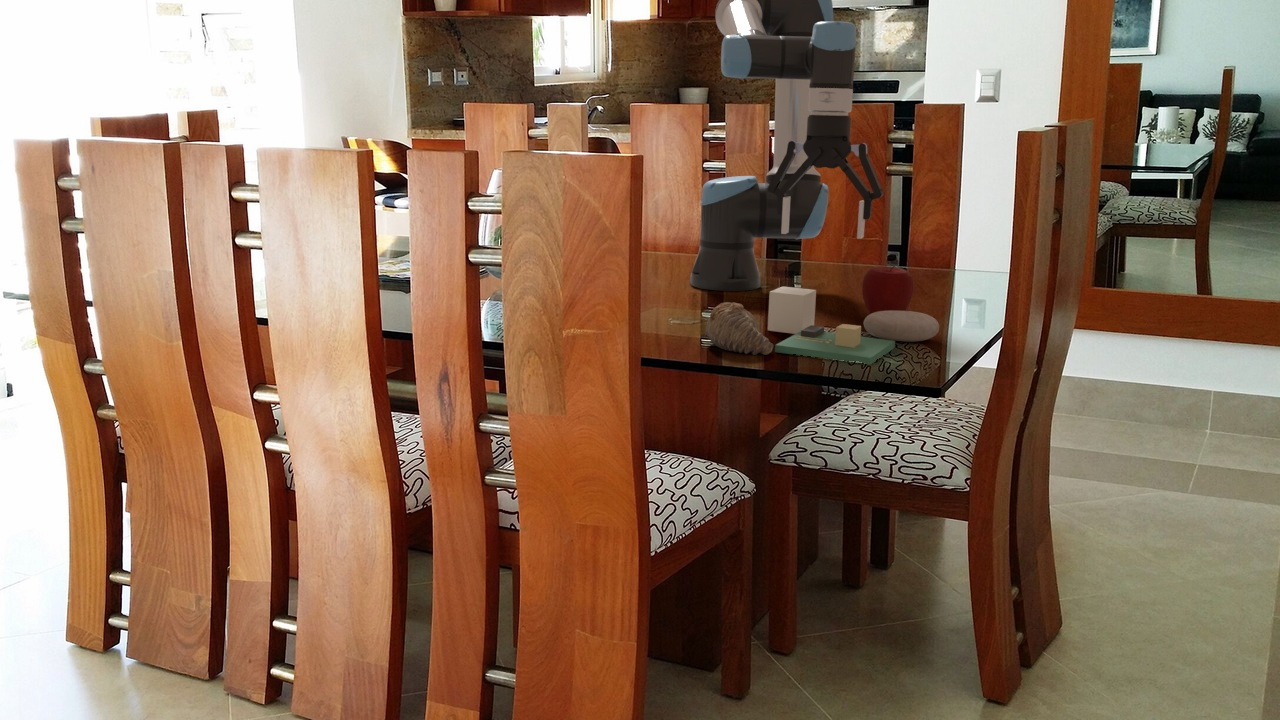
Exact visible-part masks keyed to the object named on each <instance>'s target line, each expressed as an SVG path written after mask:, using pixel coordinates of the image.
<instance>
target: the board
mask: <svg viewBox="0 0 1280 720" xmlns="http://www.w3.org/2000/svg"><path fill="white" fill-rule="evenodd" d="M861 333H862V326H861V325H856V324H849V323H848V324H847V323H846V324H845V323H842V324H839V325H837V326H836V330H835V332H827V331H825V326H821V325H814V326H813V325H811V326H809V327H807V328H805V329H803V330H801V332H799V333H797V334H792V335H791V336H789V337H787V338H786V339H784V340H781V341H780V342H778V343H776V344H774V346H775V347H774V353H778V354H779V353H780V354H786V355H787V354H788V355H793V354H796V355H795V356H800V355H803V356H802V357H807V356H811V357H810V358H815V357H821V358H820V359H822V358H828V359H827V360H829V359H837V360H844V361H859V362H862V363H865V364H868V365H867V366H871V365H872V363H873V364H874V363H875V362H877V361H878V360H879V358H880V357H881V358H883V357H884V356H886V354H888V353H889V352H891V351H892V350H893V349H895V347H896V341H893V340H887V339H882V338H877V337H866V336H862V335H861ZM883 355H884V356H883ZM881 358H880V359H881ZM877 359H878V360H877ZM876 360H877V361H876ZM865 364H864V365H865Z"/></svg>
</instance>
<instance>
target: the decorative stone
mask: <svg viewBox="0 0 1280 720" xmlns="http://www.w3.org/2000/svg"><path fill="white" fill-rule="evenodd" d="M863 326H864V327H863V328H864V329H865V331H866V332H867V333H869V334H870V335H871V336H873V337H875V338H877V339H884V340H892V341H895V342H905V343H907V342H908V343H911V342H912V343H914V342H923V341H926V340H927V341H928V340H929V339H932V338H934V337H935V336H936V335H938V333H939V331H940V324H939V322H938V320H937V319H936V318H934V317H933V316H932V315H930V314H926V313H923V312H919V311H912V310H911V311H910V310H906V311H879V312H874V313H872V314H870V313H869V314H868V315H867V316H866V317H865V318H864V320H863Z"/></svg>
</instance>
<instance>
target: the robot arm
mask: <svg viewBox="0 0 1280 720" xmlns="http://www.w3.org/2000/svg"><path fill="white" fill-rule="evenodd" d="M715 6H716V8H715V11H714V14H715V15H714V19H715V23H716V26H717V29H718V30H719V32H720V33H721V35H723V36H724V37H723V39H722V42H721V52H720V70H721V74H722V75H723V76H724V77H726V78H735V79H736V78H737V79H739V80H743V79H766V80H767V79H768V80H769V79H770V80H771V79H773V80H774V79H775V88H774V89H775V93H774V94H775V96H774V97H775V98H774V99H775V100H774V129H773V130H774V137H773V166H772V168H771V169H770V170H769V171H768V172H767V174H766V176H765V182H762V183H761V182H759V181H758V179H757V177H756V176H754V175H739V176H738V175H737V176H729V177H720V178H715V179H711V180H709V181H706V182H705V183H704V184H703V186H702V189H701V200H700V202H699V204H700V206H701V209H700V210H701V211H700V226H699V227H700V232H699V249H698V252H697V256H696V258H695V262H694V265H693V266H692V270H691V272H690V279H689V281H690V286H692V287H694V288H698V289H704V290H710V291H719V292H722V291H723V292H725V291H726V292H739V291H740V292H741V291H742V292H743V291H751V290H757V289H759V288H760V287H761V274H760V270H759V266H758V263H757V259H756V255H755V251H754V248H755V247H754V246H755V245H754V244H755V239H757V238H758V239H759V238H761V239H795V240H800V239H814V238H816V237H817V236H819V234H820V233H821V231H822V229H823V226H824V223H825V220H826V215H827V210H828V204H829V186H828V185H827V184H825V183H822V182H821V181H822V180H821V179H822V177H821V173H819V172H818V170H816V169H822V168H827V169H833V170H834V169H837V168H838V167H839V168H840V169H841V171H842V172H843V173H844V175H845V176H846V177H847V178H848V180H849V182H851V184H852V185H853V187H854V188H855V189H856V190H857V192H858V193H859V194H860V196H861V198H862V199H863V200H862V199H861V200H859V203H858V216H857V217H858V219H857V233H856V239H857V240H858V239H859V240H861V239H864V238H865V224H866V220H868V221H869V220H870V219H871V217H872V210H873V201H874V200H876V199H880V198H882V197H883V196H884V191H883V189H882V186H881V183H880V181H879V179H878V176H877V174H876V172H875V169H874V167H873V165H872V162H871V159H870V157H869V146H868V143H866V142H863V143H858V144H852V143H851V126H852V125H851V124H852V118H851V116H850V115H849V113H851V112H852V111H853V98H854V97H853V94H854V93H853V92H854V75H855V63H856V61H855V60H856V59H855V58H856V50H857V49H856V47H857V46H858V42H857V27H856V24H854V23H853V22H849V21H834V8H833V0H718V1H717V4H716V5H715ZM852 152H854V155H855V156H856V157H857V158H858V157H859V162H860V164H861V166H862V169H863V171H864V173H865V176H866V179H867V181H868V183H869V185H870V189H871V190H872V192H871V191H870V190H869V188H868V187H867V185H866V184H865V183H864V181H863V180H862V179H861V178H860V176H859V175H858V173H857V172H856V171H855V170H854V168H853V166H852V165H851V163H850V162H849V161H848V159H847V158H848V156H849V155H850V154H851V153H852ZM815 168H816V169H815Z"/></svg>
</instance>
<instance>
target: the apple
mask: <svg viewBox="0 0 1280 720" xmlns="http://www.w3.org/2000/svg"><path fill="white" fill-rule="evenodd" d="M861 285H862V289H861V290H862V291H861V292H862V299H863V302H864V306H865V307H866V310H867V311H868V313H869V315H870V314H872V313H874V312H879V311H907V309H908V307H909V306H910V303H911V301H912V298H913V295H914V286H915V285H914V279H913V276H912V275H911V273H909V271H908V270H906V269H905V268H901V267H896V266H895V265H893V266H887V265H885V266H880V265H879V266H873V267H871V268H870V269H868V271H867V272H866V274H864V277H863V280H862V284H861Z"/></svg>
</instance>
